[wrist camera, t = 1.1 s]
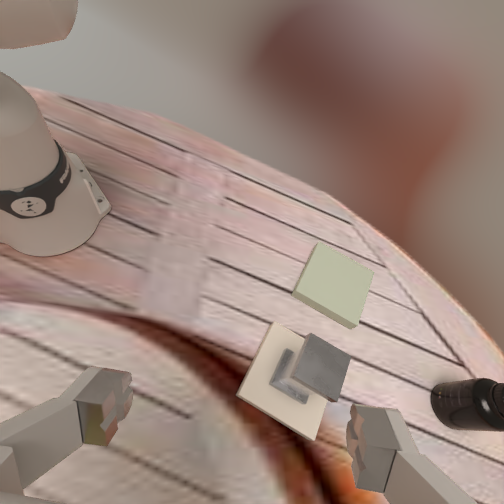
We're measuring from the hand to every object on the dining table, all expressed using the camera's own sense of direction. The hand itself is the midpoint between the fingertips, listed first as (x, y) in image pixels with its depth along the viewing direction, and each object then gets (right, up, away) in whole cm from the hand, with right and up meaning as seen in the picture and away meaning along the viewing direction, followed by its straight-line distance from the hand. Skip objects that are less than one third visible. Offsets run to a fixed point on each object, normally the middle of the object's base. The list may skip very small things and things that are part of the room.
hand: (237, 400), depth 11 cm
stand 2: (+15, -1, +44) cm, 47 cm away
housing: (+7, -13, +32) cm, 35 cm away
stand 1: (+6, -14, +34) cm, 38 cm away
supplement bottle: (+33, -20, +38) cm, 54 cm away
